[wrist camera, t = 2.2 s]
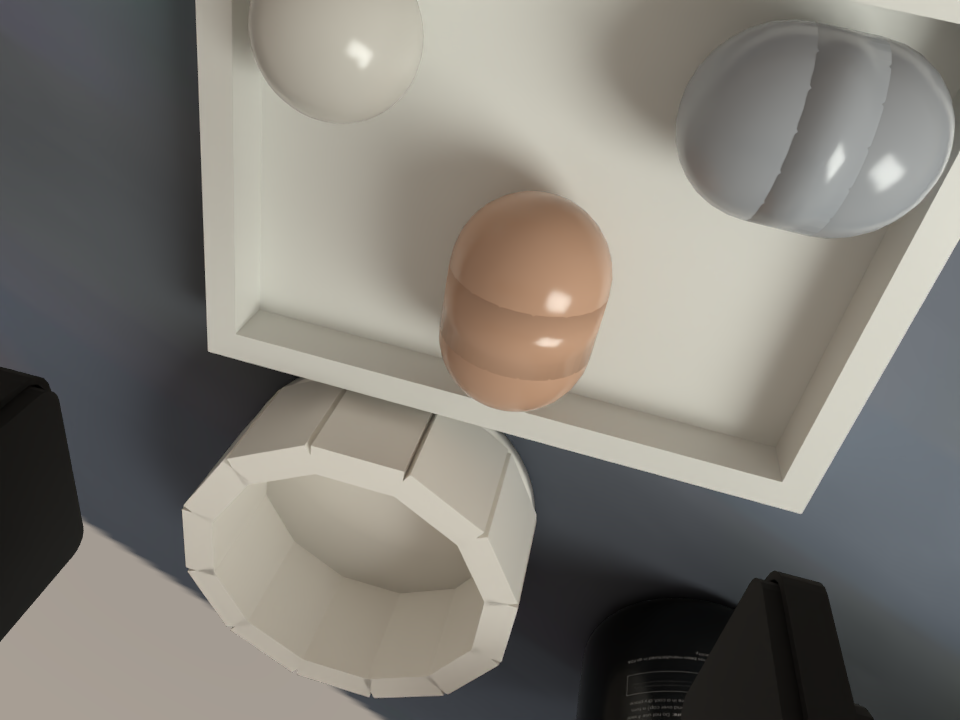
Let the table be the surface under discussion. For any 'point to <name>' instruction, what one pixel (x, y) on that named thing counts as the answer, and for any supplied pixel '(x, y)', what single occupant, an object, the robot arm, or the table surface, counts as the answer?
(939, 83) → the pebble
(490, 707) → the table surface
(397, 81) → the pebble
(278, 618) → the bowl
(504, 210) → the pebble
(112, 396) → the table surface
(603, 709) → the supplement bottle
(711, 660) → the robot arm
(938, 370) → the table surface
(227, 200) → the parts tray
